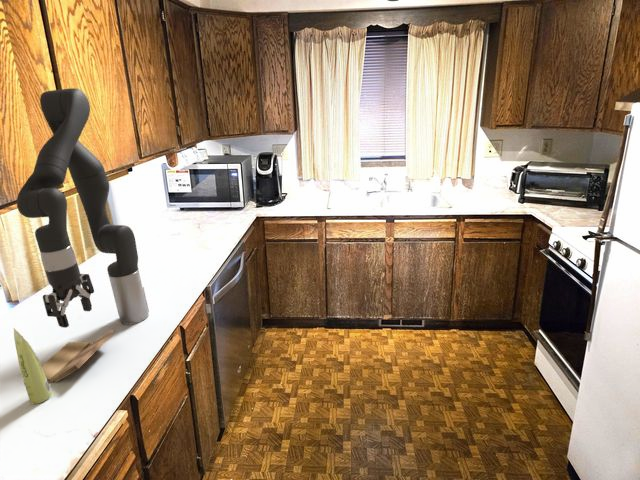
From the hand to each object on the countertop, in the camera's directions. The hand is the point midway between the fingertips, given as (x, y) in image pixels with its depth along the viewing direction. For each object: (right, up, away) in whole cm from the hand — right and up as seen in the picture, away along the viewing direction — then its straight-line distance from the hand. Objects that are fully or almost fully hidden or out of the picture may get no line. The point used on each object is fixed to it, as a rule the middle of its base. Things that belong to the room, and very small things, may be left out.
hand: (76, 318), depth 121 cm
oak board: (-9, -14, +9) cm, 19 cm away
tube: (-6, -20, -6) cm, 21 cm away
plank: (-1, -12, +7) cm, 14 cm away
